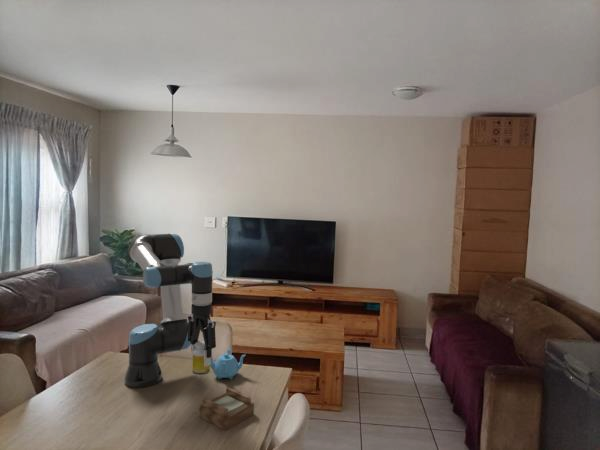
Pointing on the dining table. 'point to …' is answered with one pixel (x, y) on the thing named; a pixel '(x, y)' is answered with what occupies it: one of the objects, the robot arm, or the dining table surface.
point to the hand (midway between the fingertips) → (201, 362)
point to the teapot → (226, 365)
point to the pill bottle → (199, 360)
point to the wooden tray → (227, 409)
